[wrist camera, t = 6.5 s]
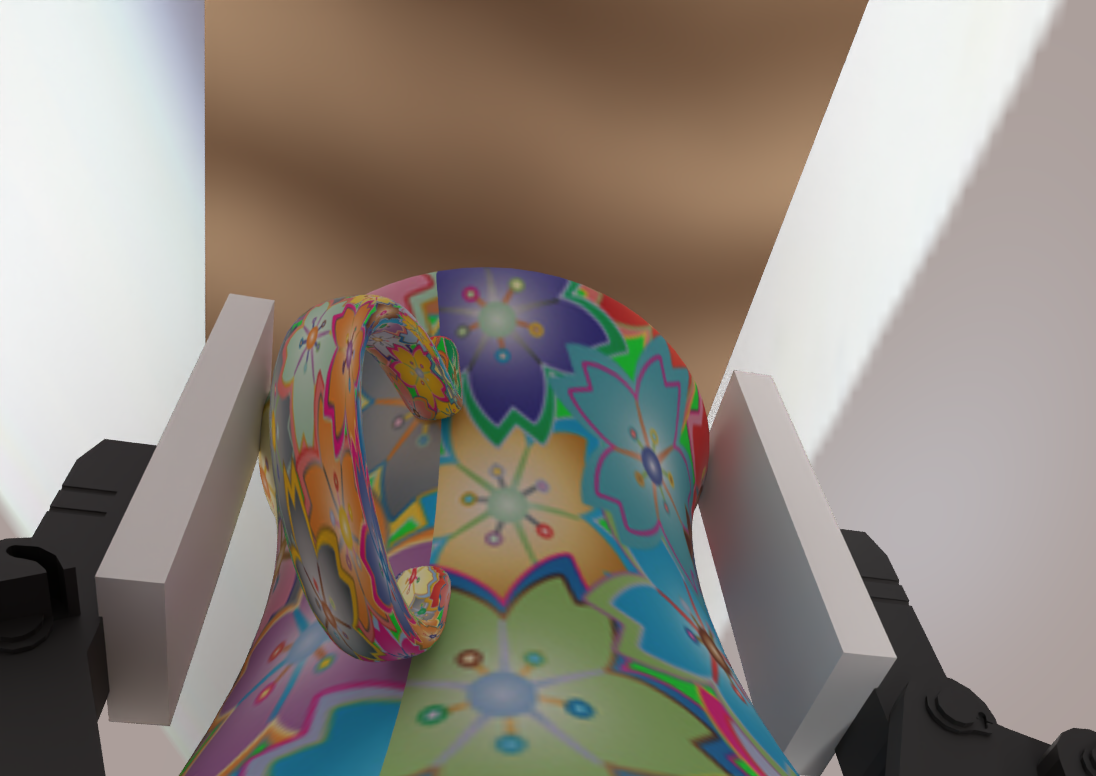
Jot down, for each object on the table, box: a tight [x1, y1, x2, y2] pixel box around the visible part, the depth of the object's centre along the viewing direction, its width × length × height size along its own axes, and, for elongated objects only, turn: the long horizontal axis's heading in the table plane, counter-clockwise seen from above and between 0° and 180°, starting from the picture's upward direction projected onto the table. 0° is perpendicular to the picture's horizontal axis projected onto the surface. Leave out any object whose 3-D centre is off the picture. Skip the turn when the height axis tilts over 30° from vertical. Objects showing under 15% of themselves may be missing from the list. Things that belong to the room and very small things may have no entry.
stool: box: [205, 0, 869, 417], centre depth 26 cm, size 14×14×7 cm
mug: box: [179, 267, 800, 776], centre depth 13 cm, size 12×9×11 cm
